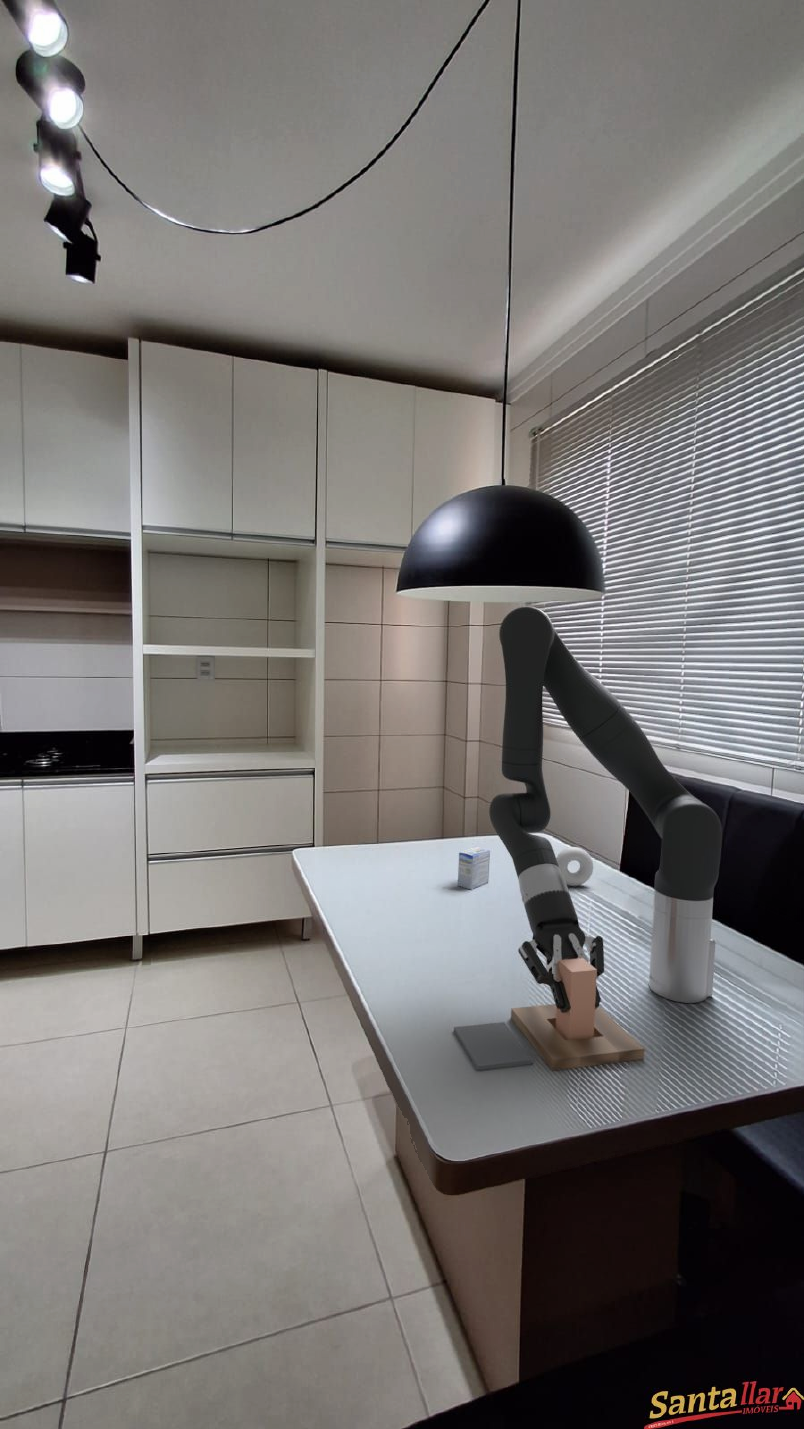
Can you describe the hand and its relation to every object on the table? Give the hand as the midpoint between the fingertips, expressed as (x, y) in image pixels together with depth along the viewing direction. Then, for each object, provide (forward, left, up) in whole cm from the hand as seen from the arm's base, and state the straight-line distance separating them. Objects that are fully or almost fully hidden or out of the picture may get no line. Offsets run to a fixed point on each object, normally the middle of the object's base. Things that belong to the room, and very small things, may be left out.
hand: (580, 1008), depth 97 cm
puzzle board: (0, -1, -5) cm, 5 cm away
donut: (-35, -66, -5) cm, 75 cm away
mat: (+13, -1, -5) cm, 14 cm away
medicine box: (-10, -71, -5) cm, 72 cm away
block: (0, -1, -5) cm, 5 cm away
